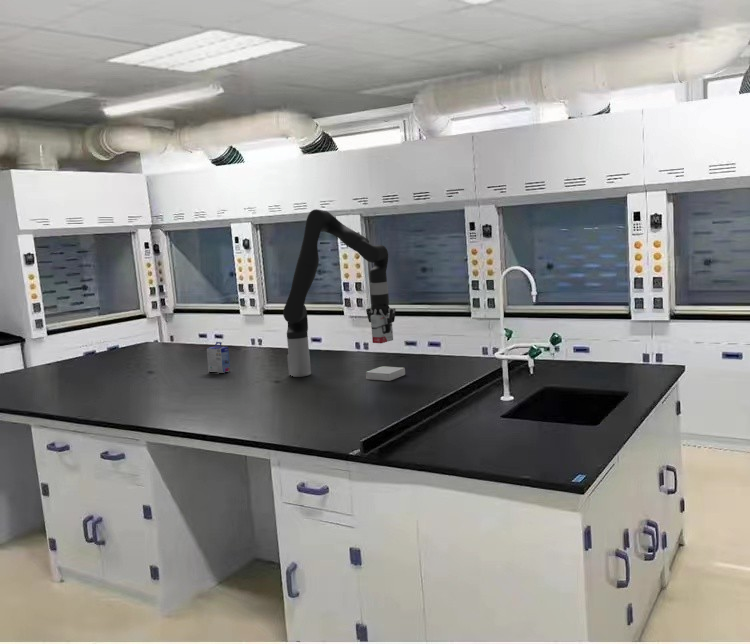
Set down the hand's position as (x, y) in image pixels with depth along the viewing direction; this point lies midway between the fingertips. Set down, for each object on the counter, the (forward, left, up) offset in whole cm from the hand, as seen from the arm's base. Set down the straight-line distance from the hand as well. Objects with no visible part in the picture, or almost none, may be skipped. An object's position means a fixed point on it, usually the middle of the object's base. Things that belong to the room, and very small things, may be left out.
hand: (382, 332), depth 311 cm
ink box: (0, 0, -4) cm, 4 cm away
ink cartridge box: (-86, -15, -20) cm, 89 cm away
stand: (0, 0, -19) cm, 19 cm away
